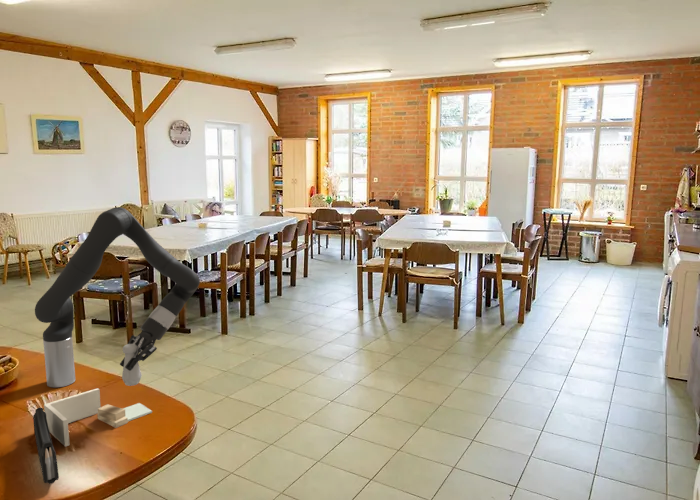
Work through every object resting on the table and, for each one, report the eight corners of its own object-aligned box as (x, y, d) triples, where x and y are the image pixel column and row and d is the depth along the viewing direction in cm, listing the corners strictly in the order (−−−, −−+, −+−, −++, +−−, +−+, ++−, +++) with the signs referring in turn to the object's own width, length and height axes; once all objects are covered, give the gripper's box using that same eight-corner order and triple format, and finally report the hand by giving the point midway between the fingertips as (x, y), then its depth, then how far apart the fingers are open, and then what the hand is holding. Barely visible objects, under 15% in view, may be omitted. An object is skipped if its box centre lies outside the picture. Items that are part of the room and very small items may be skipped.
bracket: (46, 428, 160) (44, 404, 158) (99, 410, 171) (97, 388, 170) (65, 446, 150) (63, 420, 149) (120, 426, 162) (118, 402, 160)
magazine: (31, 407, 154) (37, 419, 130) (44, 404, 156) (52, 416, 132) (37, 465, 153) (45, 489, 128) (50, 462, 155) (60, 485, 130)
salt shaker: (137, 377, 173) (135, 340, 171) (144, 383, 169) (142, 345, 167) (119, 383, 169) (117, 344, 167) (126, 388, 165) (124, 349, 163)
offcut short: (98, 415, 165) (97, 408, 165) (107, 410, 168) (107, 404, 168) (116, 420, 162) (115, 414, 161) (125, 415, 165) (125, 409, 165)
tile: (114, 413, 170) (114, 411, 170) (139, 404, 176) (139, 402, 176) (127, 421, 165) (126, 420, 165) (152, 412, 171) (152, 410, 171)
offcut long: (97, 420, 166) (97, 414, 166) (109, 415, 170) (109, 409, 169) (116, 429, 161) (115, 423, 161) (127, 424, 164) (127, 417, 164)
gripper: (140, 312, 175) (106, 356, 169) (161, 321, 166) (126, 368, 159) (155, 323, 180) (123, 367, 173) (177, 333, 171) (144, 379, 164)
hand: (125, 367), depth 166 cm, fingers closed on salt shaker, 3 cm apart
